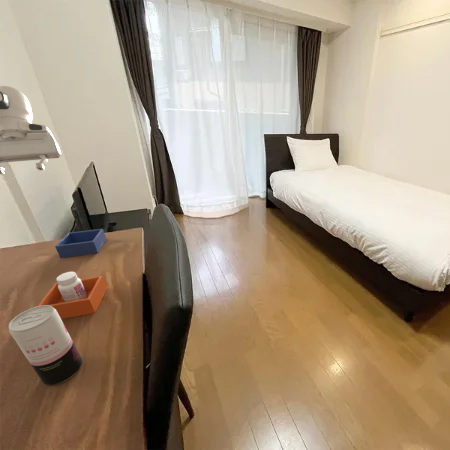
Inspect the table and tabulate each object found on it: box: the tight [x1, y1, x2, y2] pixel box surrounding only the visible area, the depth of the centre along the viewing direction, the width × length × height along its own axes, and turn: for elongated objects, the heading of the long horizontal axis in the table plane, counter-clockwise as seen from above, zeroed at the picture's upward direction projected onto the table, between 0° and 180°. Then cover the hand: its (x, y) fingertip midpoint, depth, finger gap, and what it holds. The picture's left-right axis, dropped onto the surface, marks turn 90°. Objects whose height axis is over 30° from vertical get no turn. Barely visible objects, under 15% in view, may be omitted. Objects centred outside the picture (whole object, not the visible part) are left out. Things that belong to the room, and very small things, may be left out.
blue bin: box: [54, 228, 107, 259], centre depth 98 cm, size 11×10×5 cm
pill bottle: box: [55, 271, 88, 302], centre depth 71 cm, size 5×5×8 cm
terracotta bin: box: [37, 275, 108, 320], centre depth 72 cm, size 11×10×5 cm
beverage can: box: [8, 305, 83, 386], centre depth 53 cm, size 7×7×15 cm
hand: (20, 171), depth 83 cm, fingers open, 8 cm apart
